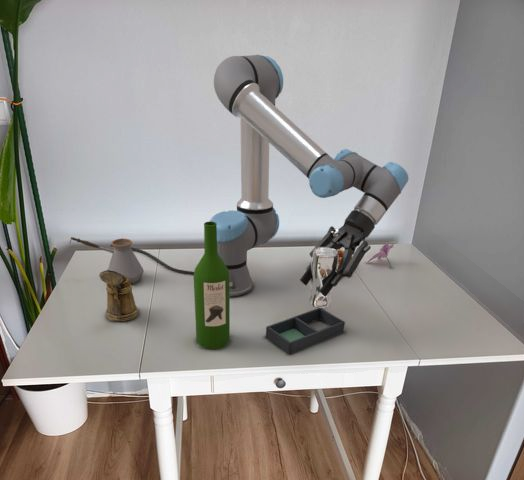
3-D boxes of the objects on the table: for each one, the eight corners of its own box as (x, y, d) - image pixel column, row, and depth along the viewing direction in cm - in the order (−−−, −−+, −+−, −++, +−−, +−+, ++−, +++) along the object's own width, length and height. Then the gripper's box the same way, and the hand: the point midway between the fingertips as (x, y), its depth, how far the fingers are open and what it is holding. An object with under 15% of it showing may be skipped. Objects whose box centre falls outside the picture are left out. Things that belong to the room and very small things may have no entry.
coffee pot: (144, 271, 170) (140, 228, 162) (143, 286, 160) (138, 241, 152) (79, 273, 167) (71, 230, 158) (74, 289, 157) (65, 244, 149)
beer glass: (331, 310, 133) (338, 258, 125) (305, 307, 134) (311, 255, 126) (333, 299, 139) (340, 248, 131) (309, 295, 140) (314, 245, 132)
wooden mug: (99, 330, 137) (89, 270, 127) (110, 306, 148) (101, 249, 138) (132, 330, 138) (124, 270, 128) (140, 307, 149) (134, 250, 139)
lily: (395, 261, 187) (388, 237, 185) (410, 261, 176) (402, 236, 173) (367, 274, 186) (359, 249, 184) (380, 274, 174) (371, 249, 172)
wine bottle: (202, 352, 130) (197, 231, 112) (192, 335, 137) (186, 219, 119) (234, 345, 133) (234, 227, 115) (223, 329, 140) (221, 215, 122)
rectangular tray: (265, 337, 137) (266, 326, 135) (318, 317, 147) (320, 307, 145) (289, 354, 130) (290, 343, 128) (343, 332, 141) (344, 321, 139)
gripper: (398, 237, 128) (344, 309, 128) (343, 215, 141) (295, 281, 141) (388, 220, 122) (332, 296, 122) (331, 199, 135) (281, 267, 135)
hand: (312, 288), depth 132 cm, fingers closed on beer glass, 7 cm apart
